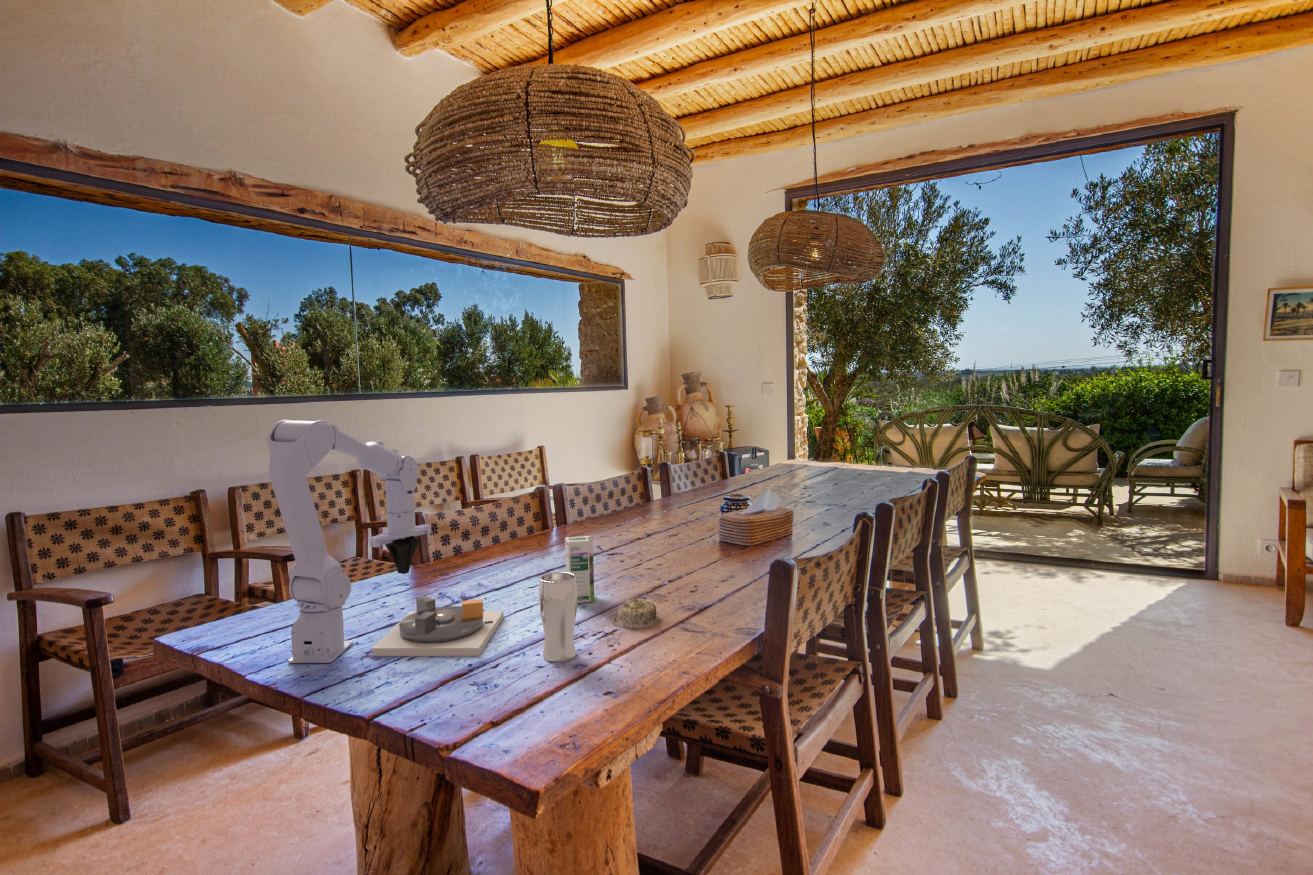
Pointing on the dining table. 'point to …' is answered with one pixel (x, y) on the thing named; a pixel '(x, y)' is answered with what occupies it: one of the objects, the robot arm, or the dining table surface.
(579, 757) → the dining table surface
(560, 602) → the beer glass
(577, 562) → the syrup box
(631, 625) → the cake
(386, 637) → the plate
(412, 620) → the rotary indexing table
